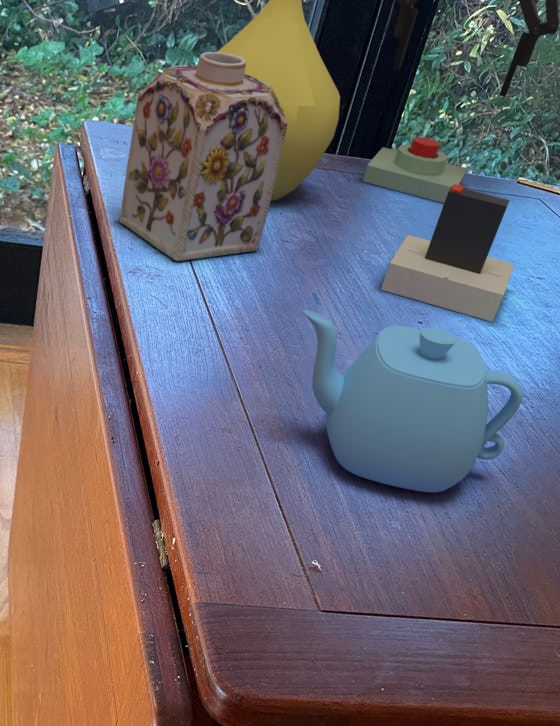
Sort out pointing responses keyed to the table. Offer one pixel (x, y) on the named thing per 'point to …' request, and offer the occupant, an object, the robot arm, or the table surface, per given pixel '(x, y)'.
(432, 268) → the beige flat block
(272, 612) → the table surface
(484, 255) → the dark grey block
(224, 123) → the decorative jar
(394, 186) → the block
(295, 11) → the vase
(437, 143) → the power button
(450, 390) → the teapot
